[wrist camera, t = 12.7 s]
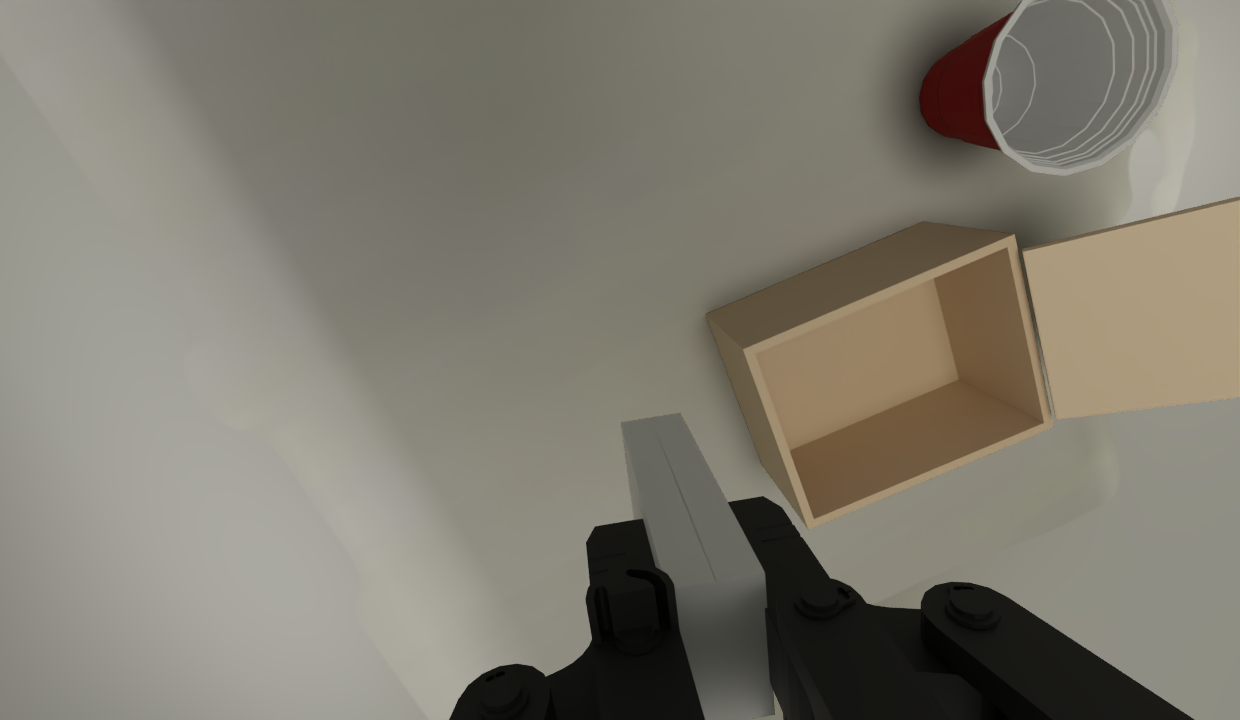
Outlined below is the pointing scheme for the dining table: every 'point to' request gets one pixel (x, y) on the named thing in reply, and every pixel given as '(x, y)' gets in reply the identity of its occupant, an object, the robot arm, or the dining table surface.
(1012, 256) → the carton
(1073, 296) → the flap
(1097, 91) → the plastic cup
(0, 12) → the dining table surface
